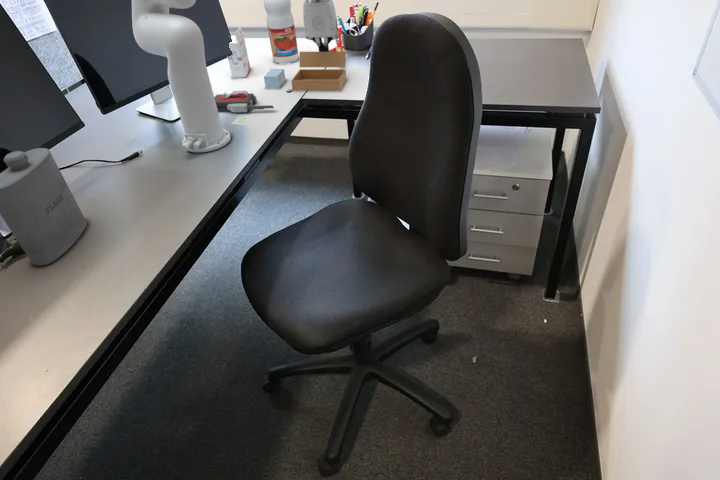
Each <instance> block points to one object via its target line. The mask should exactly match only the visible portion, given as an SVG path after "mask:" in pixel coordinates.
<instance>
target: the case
mask: <svg viewBox="0 0 720 480" xmlns="http://www.w3.org/2000/svg"><path fill="white" fill-rule="evenodd" d="M263 80H264V85H265V86H264V87H265V88H266V89H279V88H281V86H282V85H283V84H284V83H285V82H286V80H287V79H286V73H285V69H284V68H270V69H269V70H268V71H267V72H266V73H265V75H263Z"/></svg>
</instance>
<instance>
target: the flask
mask: <svg viewBox="0 0 720 480" xmlns="http://www.w3.org/2000/svg"><path fill="white" fill-rule="evenodd" d="M3 162H4V163H5V165H6V167H7V168H6V169H5V170H3V171H2V172H0V217H1V218H2V220H3V221H4V222H5V224H6V225H7V227H8V228H9V230H10V232H11V233H12V235H13V236H14V238H15V239H16V241H17V242H18V244H19V245H20V247H21V249H22V250H23V252H24V253H25V254H26V256H27V258H28V259H29V261H30V262H31V264H32V265H34V266H40V267H41V266H47V265H50V264H52V263H53V262H55V261H56V260H58V259H60V258H61V257H62V256H63V255H64V254H65V253H66V252H67V251H68V250H70V248H72V246H73V245H75V243H76V242H77V241H78V239H79V238H80V237H81V236H82V234H83V232H84V231H85V229H86V228H87V225H88V224H87V222H88V221H87V219H86V218H85V216H84V214H83V212H82V210H81V208H80V206H79V204H78V202H77V200H76V198H75V197H74V195H73V192H72V191H71V189H70V188H69V185H68V183H67V182H66V179H65V178H64V176H63V173H62V172H61V170H60V168H59V166H58V164H57V162H56V160H55V159H54V156H53V154H52V153H51V151H50V149H48V148H46V147H36V148H31V149H29V150H27V151H21V150H16V151H12V152H9V153H7V154H6V155H5V156H4V158H3Z"/></svg>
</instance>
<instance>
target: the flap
mask: <svg viewBox="0 0 720 480" xmlns="http://www.w3.org/2000/svg"><path fill="white" fill-rule="evenodd" d="M298 55H299V68H346V56H347V55H346V51H329V52H319V51H298Z"/></svg>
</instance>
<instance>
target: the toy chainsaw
mask: <svg viewBox="0 0 720 480" xmlns="http://www.w3.org/2000/svg"><path fill="white" fill-rule="evenodd" d="M214 98H215V102H216V106H217V109H218V112H225V111H227V112H228V111H229V112H232V113H248V111H252V110H253V111H254V110H265V109H274V105H270V104H269V105H254V104H256V103H257V96H256V95H255V94H254V93H251V92H250V93H249V92H248V91H247V90H233V91H232V92H231V93H227V92H226V91H225V92H224V93H220V94H216V95H214Z"/></svg>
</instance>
